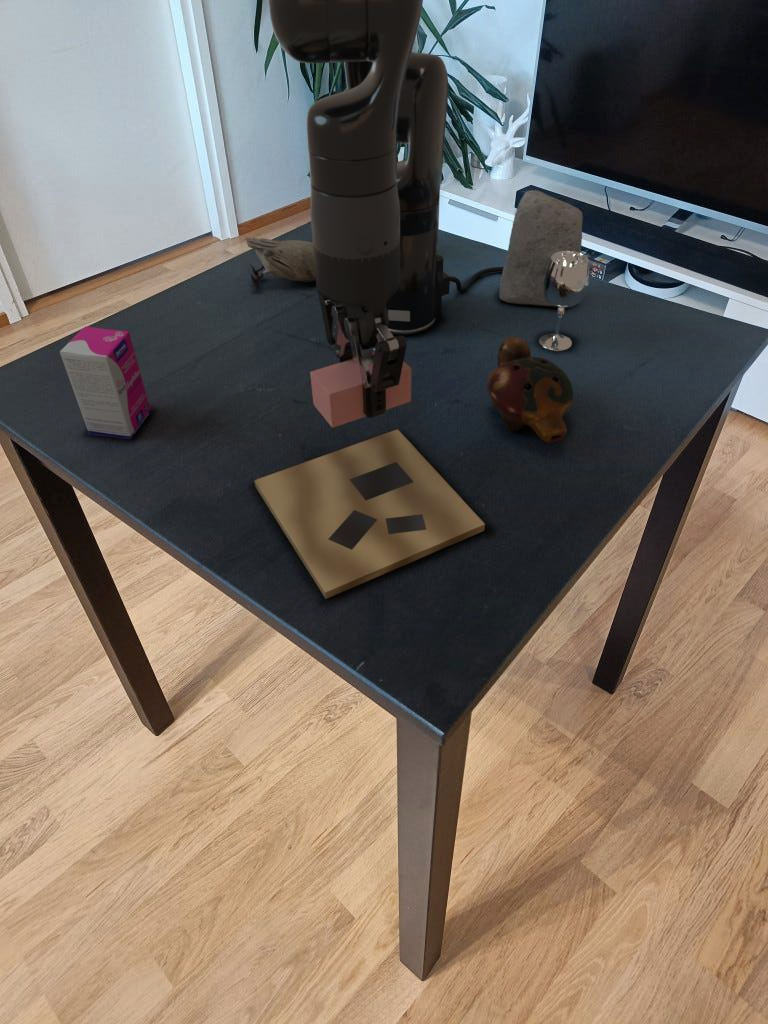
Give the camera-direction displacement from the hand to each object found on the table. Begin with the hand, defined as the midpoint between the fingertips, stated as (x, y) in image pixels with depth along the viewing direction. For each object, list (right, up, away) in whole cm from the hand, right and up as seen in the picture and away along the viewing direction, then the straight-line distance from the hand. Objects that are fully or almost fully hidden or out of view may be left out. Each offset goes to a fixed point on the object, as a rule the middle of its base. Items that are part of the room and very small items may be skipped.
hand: (363, 400), depth 73 cm
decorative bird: (-11, +25, +39) cm, 48 cm away
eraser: (0, 0, 0) cm, 0 cm away
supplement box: (-30, -1, +14) cm, 33 cm away
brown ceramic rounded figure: (+19, 0, +13) cm, 24 cm away
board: (0, -11, +3) cm, 11 cm away
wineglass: (+26, +12, +26) cm, 38 cm away
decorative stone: (+25, +20, +34) cm, 47 cm away
